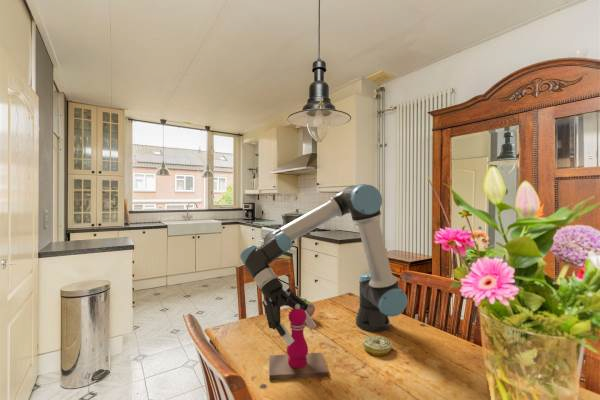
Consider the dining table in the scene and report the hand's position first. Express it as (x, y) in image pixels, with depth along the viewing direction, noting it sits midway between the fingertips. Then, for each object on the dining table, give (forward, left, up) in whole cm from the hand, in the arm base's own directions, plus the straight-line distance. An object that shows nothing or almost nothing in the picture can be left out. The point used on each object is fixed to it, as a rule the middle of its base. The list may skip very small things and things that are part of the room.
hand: (303, 335), depth 98 cm
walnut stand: (+2, -1, -11) cm, 12 cm away
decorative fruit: (-6, -41, -12) cm, 44 cm away
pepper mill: (+2, -1, -10) cm, 10 cm away
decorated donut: (-30, -10, -12) cm, 34 cm away
